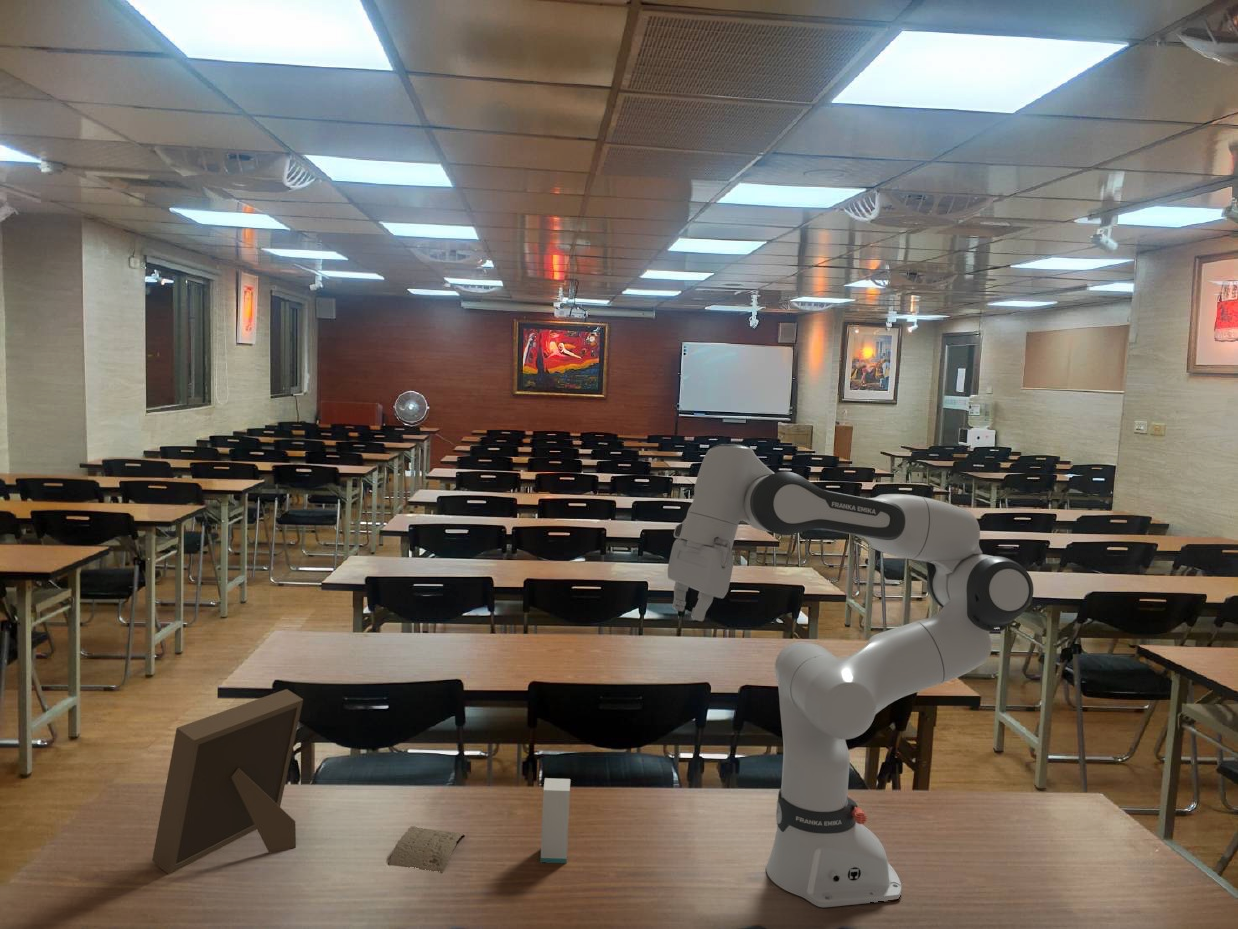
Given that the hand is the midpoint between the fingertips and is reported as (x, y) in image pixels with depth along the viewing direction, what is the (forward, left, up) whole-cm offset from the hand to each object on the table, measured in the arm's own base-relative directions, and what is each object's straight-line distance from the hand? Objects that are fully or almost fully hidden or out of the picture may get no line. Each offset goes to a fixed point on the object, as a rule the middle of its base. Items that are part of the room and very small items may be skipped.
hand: (686, 614), depth 145 cm
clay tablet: (+43, -4, -46) cm, 62 cm away
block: (+21, -3, -45) cm, 49 cm away
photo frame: (+75, -2, -45) cm, 87 cm away
